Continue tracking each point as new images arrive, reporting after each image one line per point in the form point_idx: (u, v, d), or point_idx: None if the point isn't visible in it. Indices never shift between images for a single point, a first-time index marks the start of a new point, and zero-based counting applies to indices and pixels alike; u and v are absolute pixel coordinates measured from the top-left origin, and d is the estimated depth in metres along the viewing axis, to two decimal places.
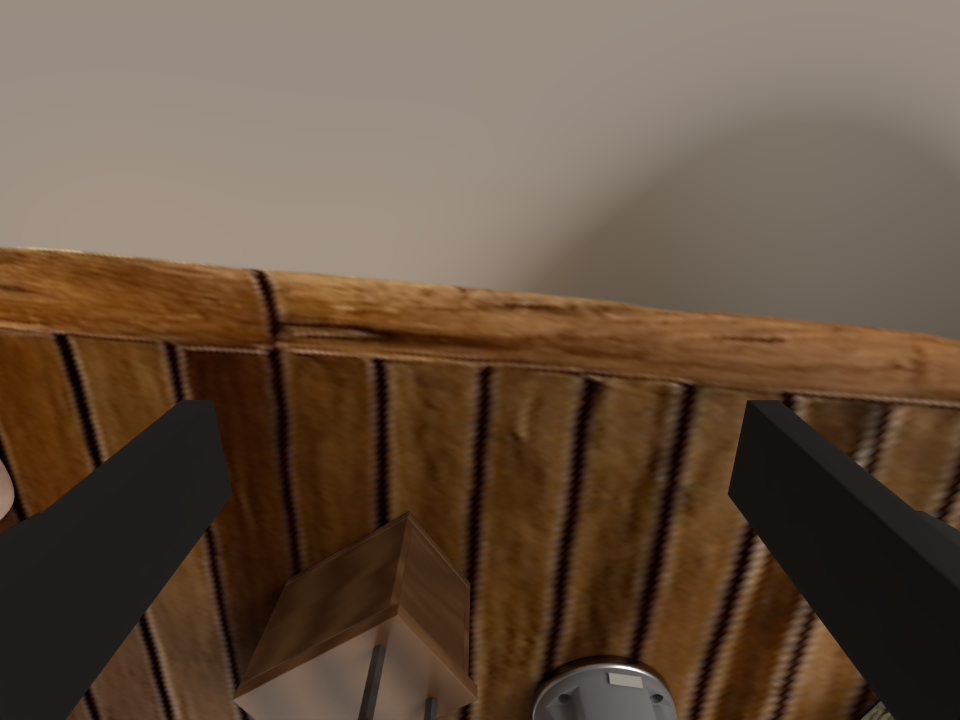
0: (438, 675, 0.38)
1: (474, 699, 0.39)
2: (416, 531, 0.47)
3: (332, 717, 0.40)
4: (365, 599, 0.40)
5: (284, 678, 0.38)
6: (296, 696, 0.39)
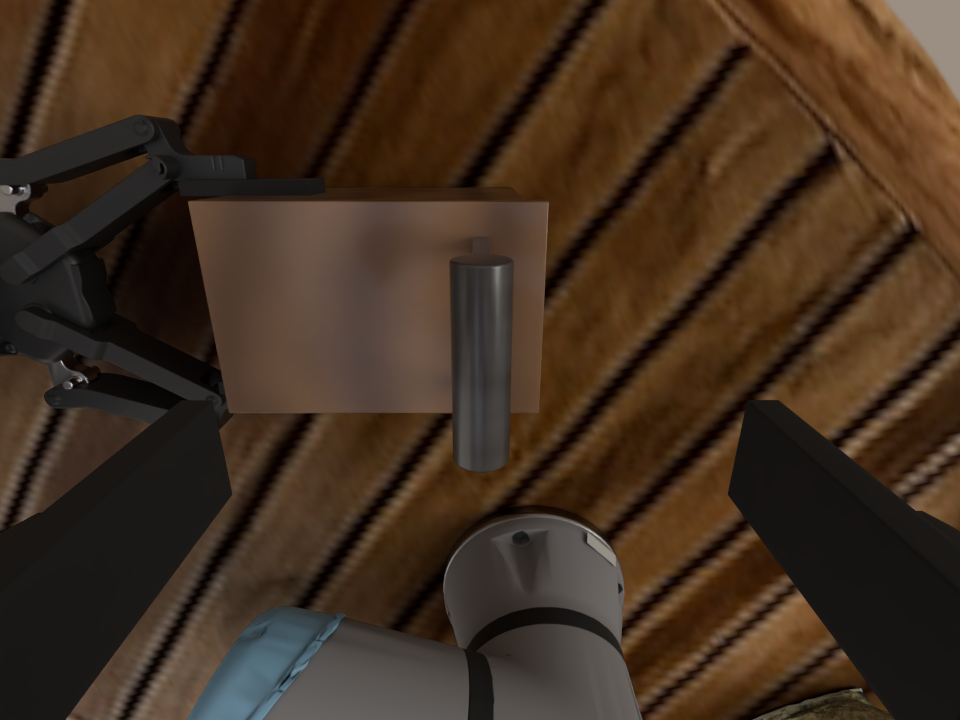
0: (522, 342, 0.25)
1: (536, 410, 0.26)
2: None
3: (322, 326, 0.24)
4: (465, 196, 0.25)
5: (301, 211, 0.22)
6: (295, 256, 0.23)
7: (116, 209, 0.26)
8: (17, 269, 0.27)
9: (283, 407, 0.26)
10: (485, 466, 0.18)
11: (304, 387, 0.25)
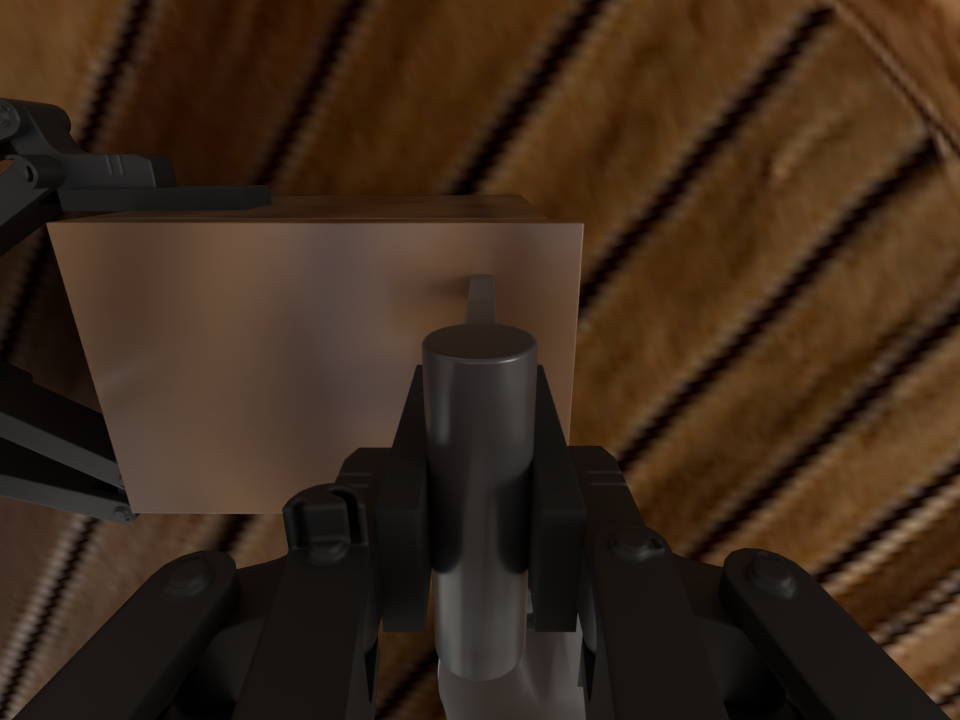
0: None
1: None
2: None
3: (255, 400, 0.17)
4: (459, 211, 0.18)
5: (215, 237, 0.15)
6: (210, 301, 0.16)
7: None
8: None
9: (206, 506, 0.18)
10: (486, 673, 0.11)
11: (234, 480, 0.18)
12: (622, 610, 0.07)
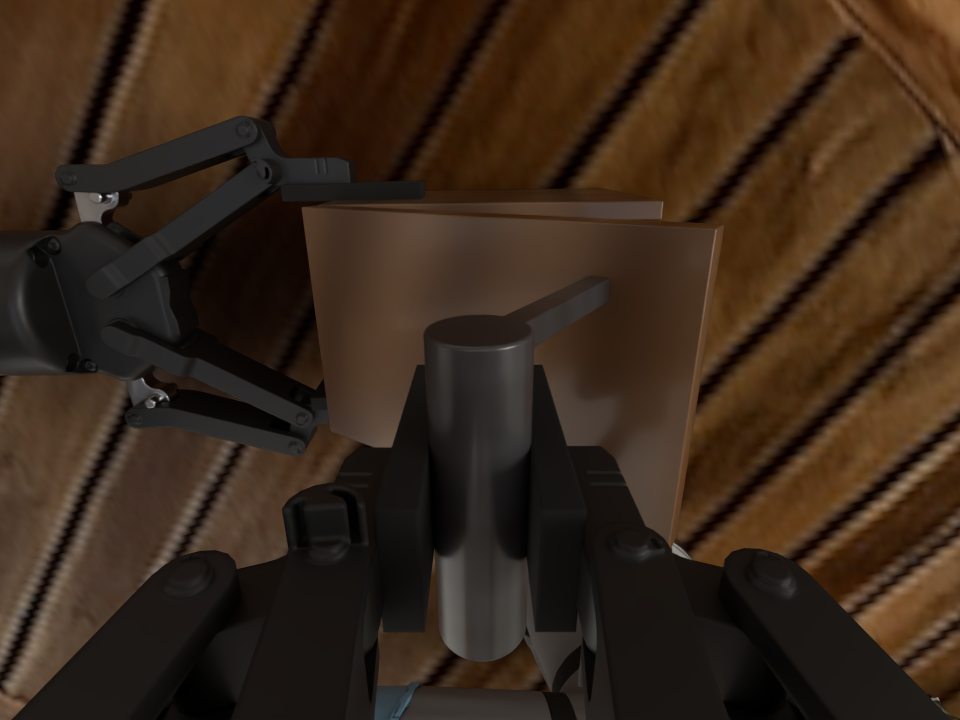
0: (649, 445, 0.16)
1: None
2: None
3: (408, 363, 0.20)
4: (586, 198, 0.24)
5: (392, 223, 0.18)
6: (386, 276, 0.19)
7: (212, 216, 0.25)
8: (106, 282, 0.25)
9: (372, 441, 0.23)
10: (463, 650, 0.12)
11: (391, 425, 0.22)
12: (622, 610, 0.07)
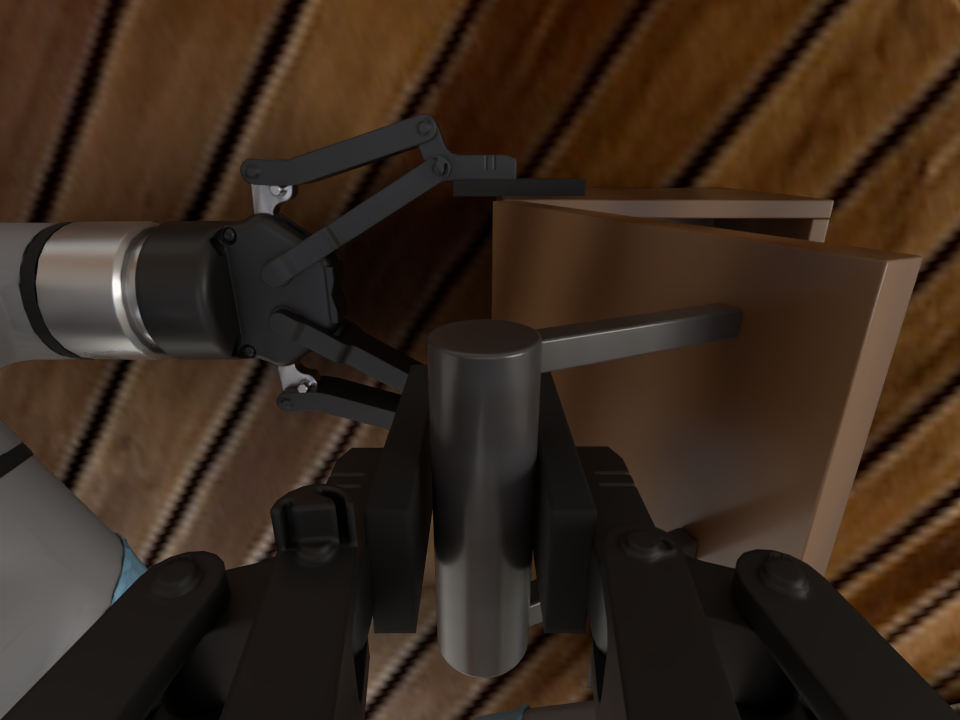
0: (763, 530, 0.12)
1: None
2: None
3: None
4: (747, 196, 0.25)
5: (553, 222, 0.18)
6: (543, 274, 0.19)
7: (384, 210, 0.26)
8: (280, 271, 0.26)
9: None
10: (443, 650, 0.12)
11: None
12: (633, 611, 0.07)
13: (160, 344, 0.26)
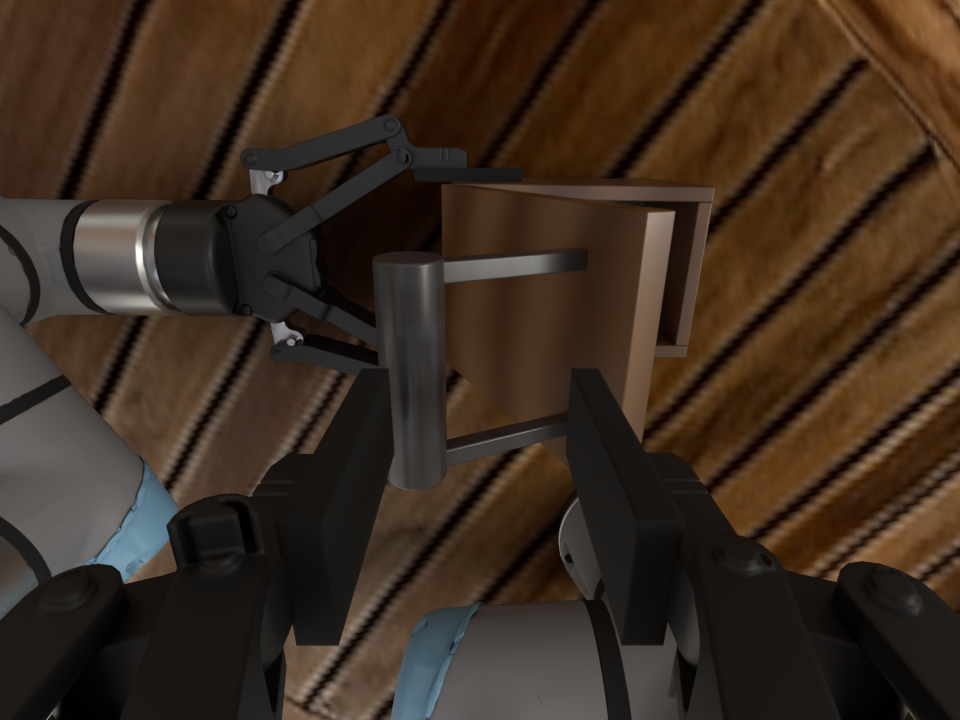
0: None
1: None
2: None
3: (483, 310, 0.26)
4: (652, 184, 0.31)
5: (481, 198, 0.24)
6: (476, 239, 0.25)
7: (358, 192, 0.32)
8: (272, 241, 0.32)
9: (462, 371, 0.29)
10: (388, 475, 0.17)
11: (471, 360, 0.28)
12: (730, 623, 0.07)
13: (173, 300, 0.32)
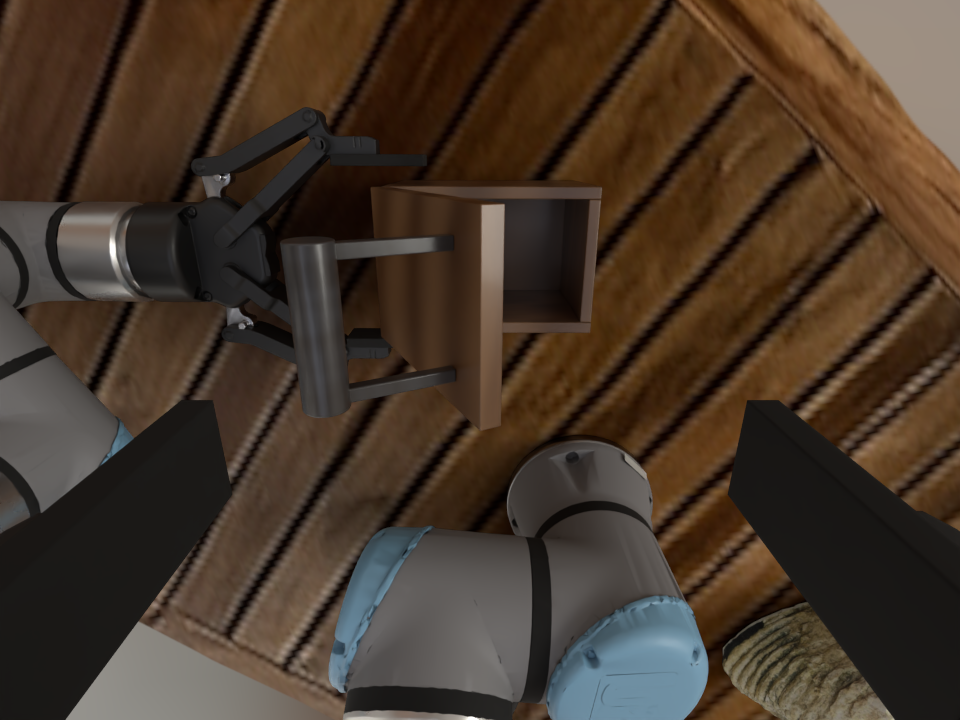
0: (470, 349, 0.24)
1: (478, 426, 0.24)
2: None
3: (401, 289, 0.31)
4: None
5: (394, 198, 0.29)
6: (394, 231, 0.31)
7: (289, 181, 0.37)
8: (226, 235, 0.37)
9: (393, 343, 0.35)
10: (303, 408, 0.23)
11: (397, 333, 0.33)
12: None
13: (142, 287, 0.38)
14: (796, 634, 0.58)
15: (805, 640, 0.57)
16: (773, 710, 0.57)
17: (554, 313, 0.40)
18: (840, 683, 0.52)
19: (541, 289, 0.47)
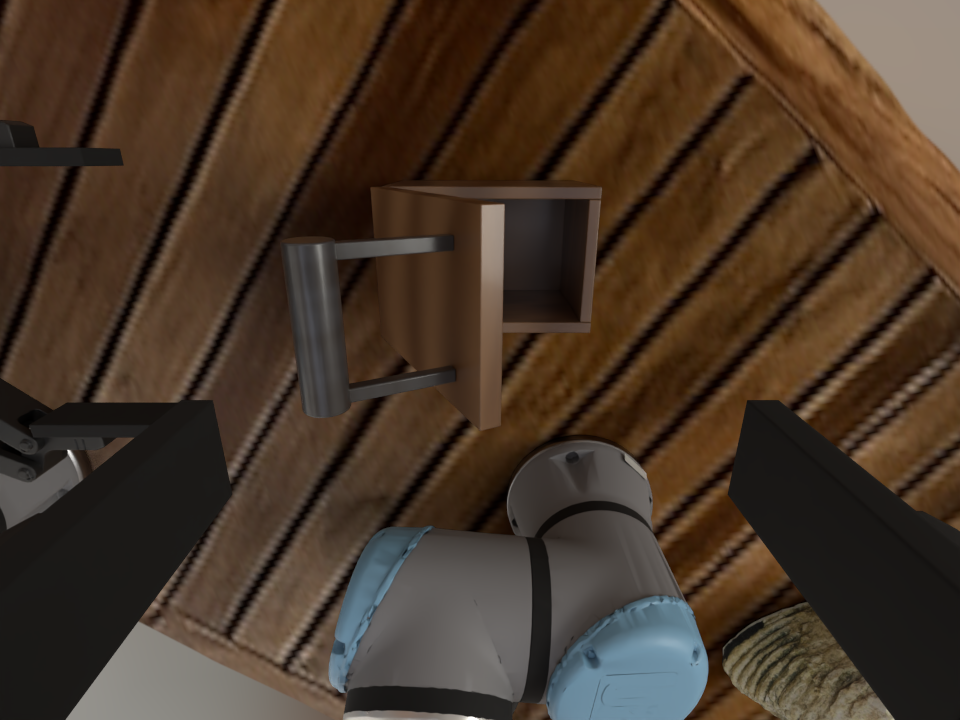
0: (470, 349, 0.24)
1: (478, 426, 0.24)
2: None
3: (401, 289, 0.31)
4: None
5: (394, 198, 0.29)
6: (394, 231, 0.31)
7: None
8: None
9: (393, 343, 0.35)
10: (303, 408, 0.23)
11: (397, 333, 0.33)
12: None
13: None
14: (796, 634, 0.58)
15: (805, 640, 0.57)
16: (773, 710, 0.57)
17: (554, 313, 0.40)
18: (840, 683, 0.52)
19: (541, 289, 0.47)
